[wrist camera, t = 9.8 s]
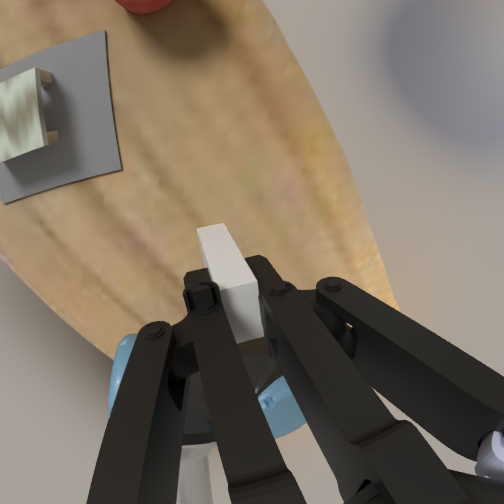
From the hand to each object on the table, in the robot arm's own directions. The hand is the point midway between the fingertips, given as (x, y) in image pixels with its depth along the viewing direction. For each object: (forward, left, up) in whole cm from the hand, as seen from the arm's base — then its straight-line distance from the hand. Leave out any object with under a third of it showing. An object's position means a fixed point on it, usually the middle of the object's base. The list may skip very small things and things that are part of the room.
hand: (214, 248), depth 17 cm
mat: (+12, +18, -26) cm, 34 cm away
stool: (+13, +16, -23) cm, 31 cm away
